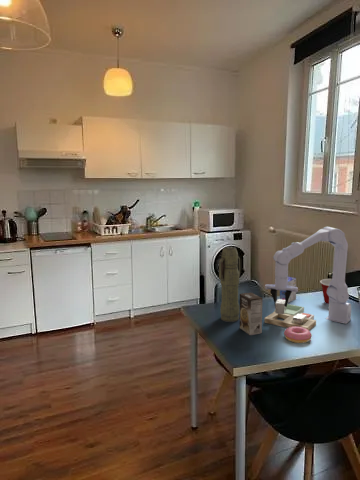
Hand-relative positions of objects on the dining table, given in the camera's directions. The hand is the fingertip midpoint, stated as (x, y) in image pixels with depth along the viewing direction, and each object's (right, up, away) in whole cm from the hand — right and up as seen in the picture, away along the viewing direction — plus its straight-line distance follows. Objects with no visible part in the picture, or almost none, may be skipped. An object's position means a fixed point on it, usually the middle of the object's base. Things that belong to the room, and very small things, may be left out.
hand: (280, 305), depth 169 cm
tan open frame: (+4, -8, -2) cm, 9 cm away
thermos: (-23, -8, +7) cm, 25 cm away
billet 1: (0, -3, +1) cm, 3 cm away
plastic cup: (+34, -4, +27) cm, 44 cm away
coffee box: (-16, -10, -8) cm, 20 cm away
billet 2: (+7, -9, -4) cm, 12 cm away
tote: (+8, -6, +12) cm, 16 cm away
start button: (+13, -7, +4) cm, 15 cm away
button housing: (+13, -7, +4) cm, 15 cm away
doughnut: (+2, -11, -17) cm, 21 cm away
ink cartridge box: (+13, -3, +33) cm, 36 cm away
